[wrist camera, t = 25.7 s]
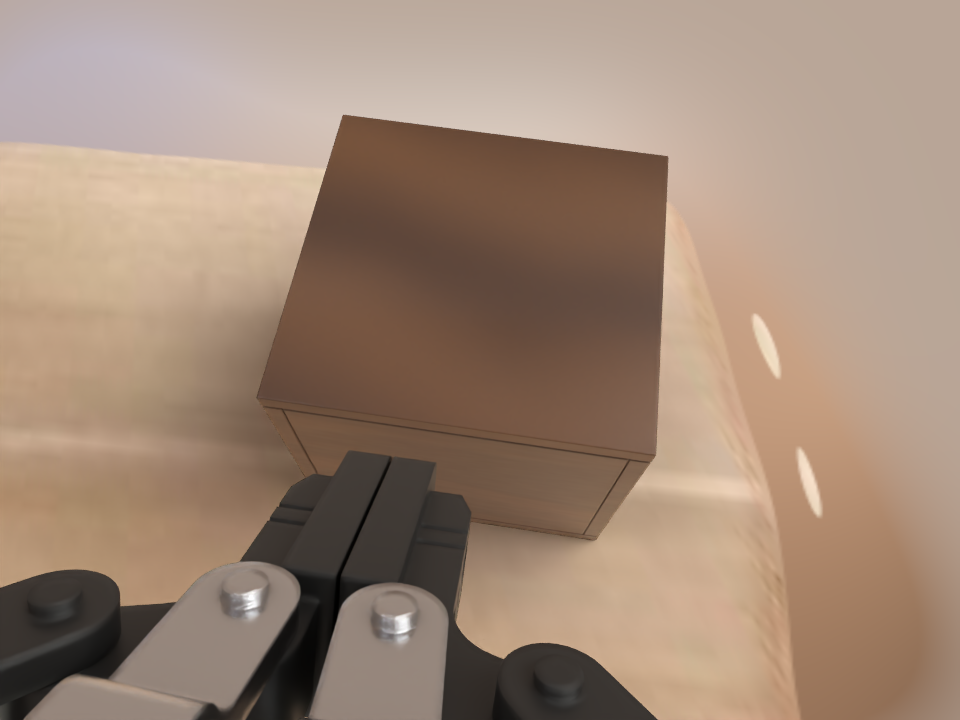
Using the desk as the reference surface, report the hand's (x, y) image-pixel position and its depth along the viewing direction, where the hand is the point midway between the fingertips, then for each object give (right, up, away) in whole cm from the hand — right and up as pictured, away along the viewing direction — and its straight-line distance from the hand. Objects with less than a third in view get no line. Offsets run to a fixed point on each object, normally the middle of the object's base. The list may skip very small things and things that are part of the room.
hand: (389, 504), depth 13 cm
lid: (+2, +6, +19) cm, 20 cm away
